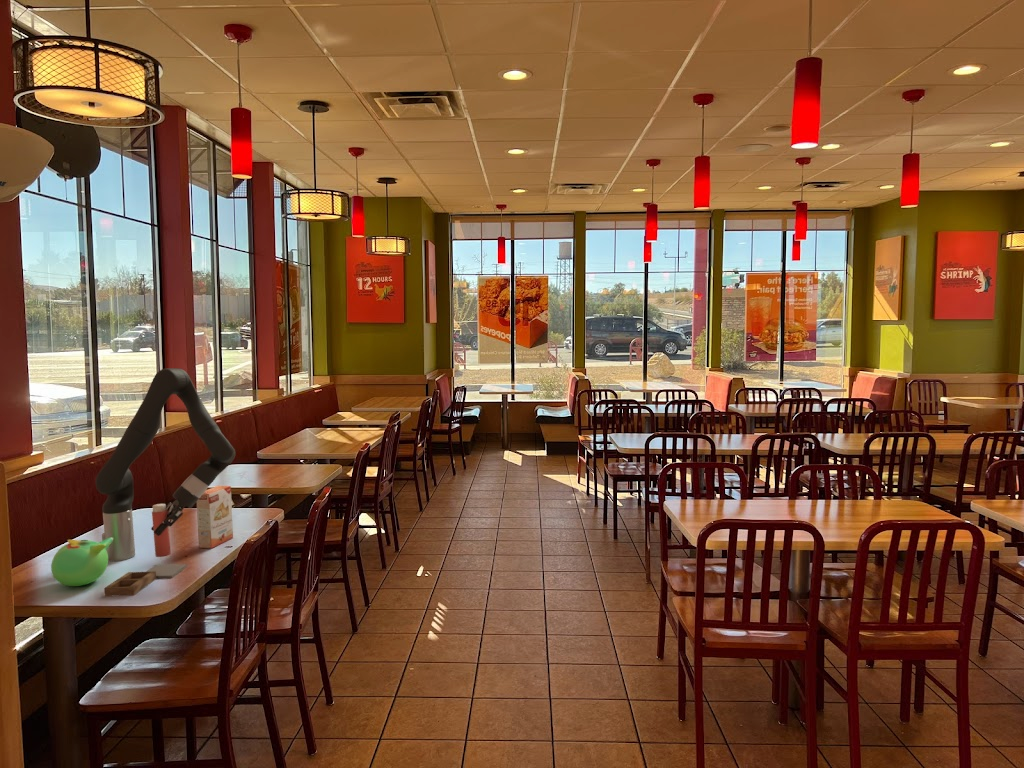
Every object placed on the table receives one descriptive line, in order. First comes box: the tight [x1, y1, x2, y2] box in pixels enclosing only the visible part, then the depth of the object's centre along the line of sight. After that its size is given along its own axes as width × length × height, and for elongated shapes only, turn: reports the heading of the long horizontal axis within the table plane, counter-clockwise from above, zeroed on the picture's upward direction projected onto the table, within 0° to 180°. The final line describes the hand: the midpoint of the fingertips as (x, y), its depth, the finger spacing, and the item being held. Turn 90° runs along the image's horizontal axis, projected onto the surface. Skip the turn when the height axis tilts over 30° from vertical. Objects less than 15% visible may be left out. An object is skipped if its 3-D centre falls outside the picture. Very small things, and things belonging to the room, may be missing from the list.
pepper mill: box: [151, 503, 172, 558], centre depth 237 cm, size 5×5×17 cm
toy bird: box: [50, 537, 113, 587], centre depth 230 cm, size 18×17×15 cm
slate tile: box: [145, 563, 188, 579], centre depth 239 cm, size 11×11×1 cm
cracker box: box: [196, 485, 234, 549], centre depth 270 cm, size 14×6×21 cm, turn 168°
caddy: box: [103, 571, 157, 597], centre depth 225 cm, size 14×9×2 cm, turn 1°
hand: (154, 532), depth 236 cm, fingers closed on pepper mill, 4 cm apart
